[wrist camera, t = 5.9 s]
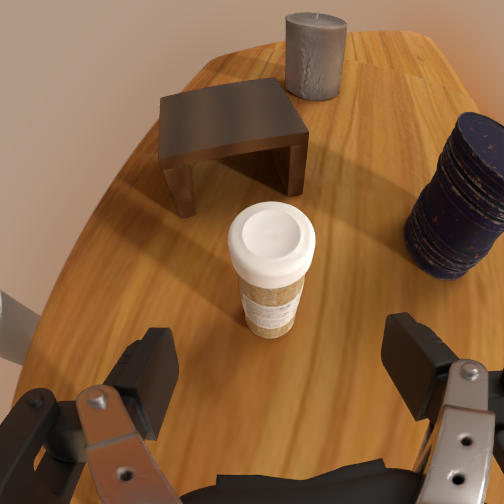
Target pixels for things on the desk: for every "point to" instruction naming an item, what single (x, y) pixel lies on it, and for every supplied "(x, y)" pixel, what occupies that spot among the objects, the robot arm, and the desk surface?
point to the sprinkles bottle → (271, 264)
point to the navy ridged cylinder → (460, 201)
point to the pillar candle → (314, 55)
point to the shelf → (229, 133)
